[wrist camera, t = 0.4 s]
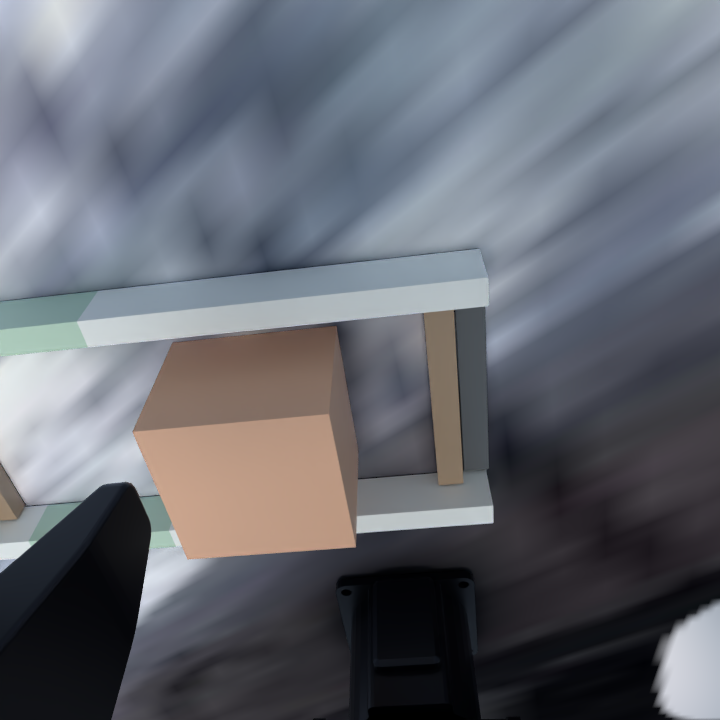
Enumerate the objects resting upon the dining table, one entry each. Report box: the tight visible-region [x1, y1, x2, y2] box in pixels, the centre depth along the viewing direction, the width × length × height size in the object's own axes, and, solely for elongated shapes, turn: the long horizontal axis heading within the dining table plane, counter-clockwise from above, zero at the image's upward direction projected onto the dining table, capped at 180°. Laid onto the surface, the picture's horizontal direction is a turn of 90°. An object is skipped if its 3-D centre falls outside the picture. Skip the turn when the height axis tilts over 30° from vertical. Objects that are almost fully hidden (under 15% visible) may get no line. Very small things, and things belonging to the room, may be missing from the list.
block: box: [133, 326, 358, 559], centre depth 23 cm, size 6×6×5 cm
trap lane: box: [0, 249, 493, 560], centre depth 25 cm, size 11×24×2 cm, turn 97°
